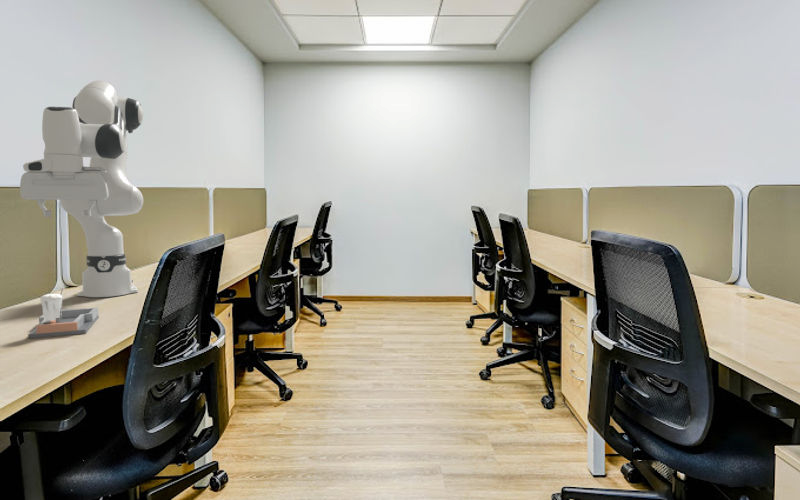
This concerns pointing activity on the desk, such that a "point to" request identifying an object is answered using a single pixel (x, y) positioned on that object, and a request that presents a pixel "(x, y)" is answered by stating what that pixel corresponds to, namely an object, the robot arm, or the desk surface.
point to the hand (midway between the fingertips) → (67, 216)
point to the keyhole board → (67, 323)
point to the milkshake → (52, 308)
